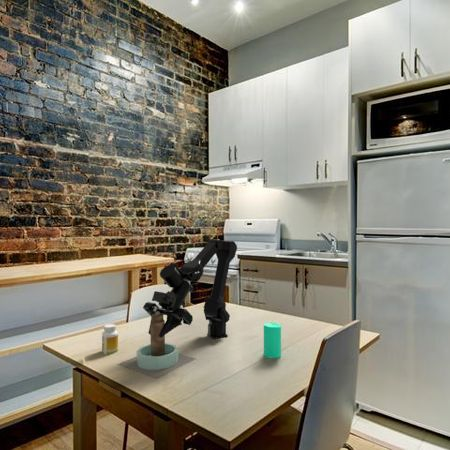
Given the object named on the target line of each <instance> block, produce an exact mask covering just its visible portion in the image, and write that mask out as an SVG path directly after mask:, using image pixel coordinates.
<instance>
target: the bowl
mask: <svg viewBox="0 0 450 450" xmlns="http://www.w3.org/2000/svg"><path fill="white" fill-rule="evenodd" d="M178 353H179V347H178V346H177V345H175V344H173V343H169V342H165V355H163V356H151V343H147V344H145V345H142V346H140V347H139V348H138V349H137V350H136V356H137V365H138V366H139V367H141V368H143V369H146V370H160V369H165V368H169V367H171V366H173V365H175V364H176V363H177V361H178Z"/></svg>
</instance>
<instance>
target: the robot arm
mask: <svg viewBox="0 0 450 450" xmlns="http://www.w3.org/2000/svg"><path fill="white" fill-rule="evenodd" d="M237 250H238V245H237V243H236V242H235V241H234V240H221V239H219V238H218V239H217V238H216V239H215V238H211V239H208V242H207V244H205V246H204V247H203V248H202V249H201V250H200V252H198V254H197V255H196V256H195V257H194V258H193V259H191V260H189V261H187V262H186V263H184V264H182V266H181V267H178V264H176V263H175V262H170V263H169V264H168V265H166V266H165V267H163V268H162V269H161V270H160V272H159V277H160V278H161V279H162V280H163V282H165V284H166V285H167V286H168V288H171V290H170V291H167V292H163V291H154V292H153V295H152V299H151V302H150V301H148V302H145V303H144V304H143V307H142V309H143V310H144V311H145V312H146V313H147V314H148V315H149V316H151V317H150V321H151V320H152V314H155V312H157V311H159V312H160V313H161V314H163V316H166V320H165V324H164V326H163V328H162V330H161V332H160V334H159V337H161V338H162V337H163V336H164V335H165V336H166V335H167V334H168V333H170V332H171V331H172V330H174V329H176V328H177V327H179V326H182V325H183V324H184V325H189V326H191V325H192V323H193V321H194V319H193V315H192V314H191V313H190V312H189V310H188V309H187V308H182V307H183V306H185V304H186V303H185V299H186V298H187V296H188V294H189V293H194V292H195V290H194V289H195V288H194V286H193V284H191V283H190V282H192V283H193V282H194V283H197V282H199V281H200V279H201V278H202V276H203V274H204V269H205V267H206V266H207V264H208V263H209V262H210V261H211V260H212V259H213V257H214V256H215V255H216V258H217V266H216V270H215V276H214V279H213V285H212V289H211V294H210V296H209V297H206V298H205V299H204V305H203V313H204V317H205V320H206V321H208V324H207V335H208V337H211V339H218V338H219V339H220V338H225V337H228V336H229V335H228V334H227V323H228V322H229V321H230V317H231V315H230V313H229V312H228V310H227V309H226V307H227V304H226V301H225V297H224V295H225V290H226V284H227V279H228V275H229V269H230V263H231V262H232V261H233V259H234V258H235V257H236V254H237ZM155 302H157V303H158V304H156V303H155ZM181 306H182V307H181ZM148 334H149V335H150V336H151V330H150V327H149V329H148Z"/></svg>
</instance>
